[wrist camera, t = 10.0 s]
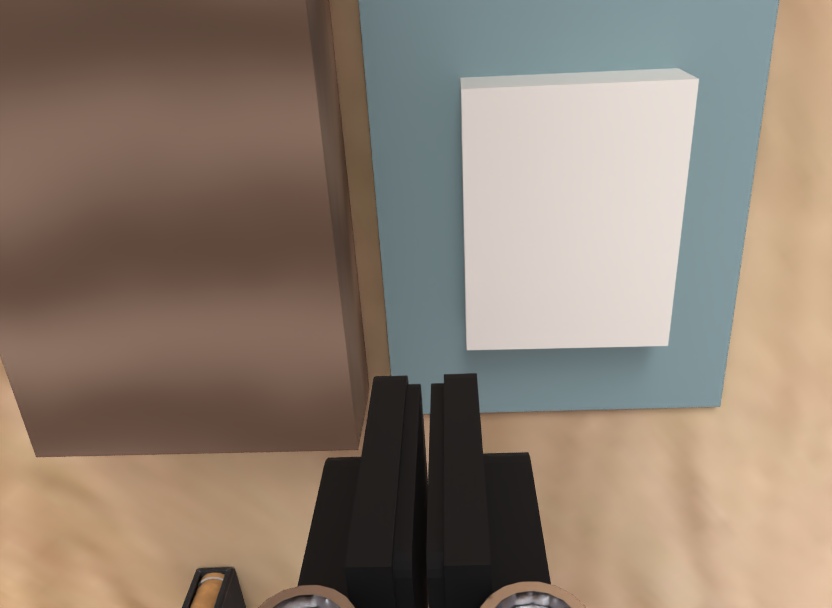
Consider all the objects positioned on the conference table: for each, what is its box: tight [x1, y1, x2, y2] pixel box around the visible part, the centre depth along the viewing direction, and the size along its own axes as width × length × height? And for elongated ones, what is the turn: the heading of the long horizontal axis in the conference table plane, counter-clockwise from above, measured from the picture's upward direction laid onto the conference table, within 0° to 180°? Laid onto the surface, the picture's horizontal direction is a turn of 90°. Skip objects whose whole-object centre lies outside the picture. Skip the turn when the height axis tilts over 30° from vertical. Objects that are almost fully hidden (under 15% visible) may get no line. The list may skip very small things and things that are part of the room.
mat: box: [358, 0, 779, 414], centre depth 25 cm, size 20×13×1 cm, turn 3°
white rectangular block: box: [460, 68, 699, 350], centre depth 25 cm, size 9×7×2 cm
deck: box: [0, 0, 369, 457], centre depth 25 cm, size 16×12×4 cm
